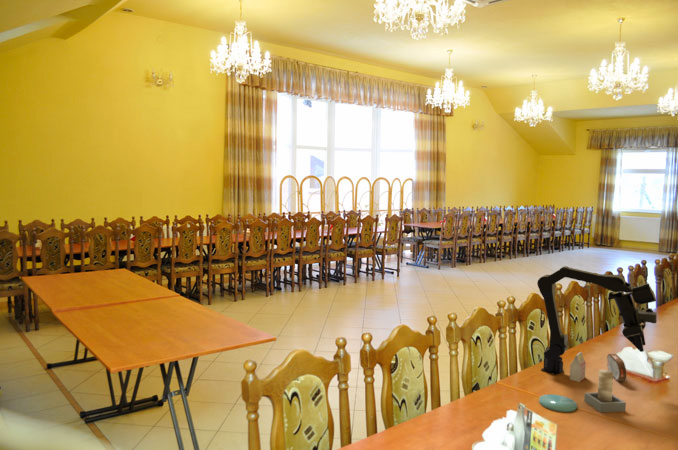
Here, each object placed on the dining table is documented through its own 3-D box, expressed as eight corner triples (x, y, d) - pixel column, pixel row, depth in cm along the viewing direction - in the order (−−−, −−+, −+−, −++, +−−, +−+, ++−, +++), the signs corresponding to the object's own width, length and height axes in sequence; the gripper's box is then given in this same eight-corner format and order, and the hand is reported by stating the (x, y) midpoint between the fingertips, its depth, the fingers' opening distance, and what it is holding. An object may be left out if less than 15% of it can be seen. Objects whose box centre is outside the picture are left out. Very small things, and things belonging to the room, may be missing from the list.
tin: (626, 384, 193) (627, 363, 192) (617, 384, 193) (618, 362, 193) (613, 370, 207) (614, 350, 207) (605, 370, 208) (606, 350, 207)
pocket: (584, 401, 177) (584, 392, 177) (608, 400, 178) (608, 391, 178) (600, 412, 168) (600, 403, 168) (625, 411, 169) (625, 402, 169)
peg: (594, 405, 174) (596, 371, 173) (601, 402, 176) (602, 369, 175) (607, 410, 170) (609, 375, 169) (614, 406, 173) (615, 372, 172)
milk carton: (569, 379, 197) (570, 354, 197) (575, 374, 202) (576, 350, 202) (579, 382, 195) (580, 356, 194) (585, 377, 200) (586, 352, 199)
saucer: (532, 402, 176) (532, 399, 176) (551, 394, 183) (551, 391, 183) (564, 415, 166) (564, 412, 166) (583, 406, 173) (583, 403, 173)
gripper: (648, 307, 178) (666, 350, 175) (651, 298, 193) (668, 337, 190) (615, 314, 184) (631, 356, 181) (620, 305, 199) (636, 343, 197)
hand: (643, 348), depth 187 cm, fingers open, 9 cm apart
